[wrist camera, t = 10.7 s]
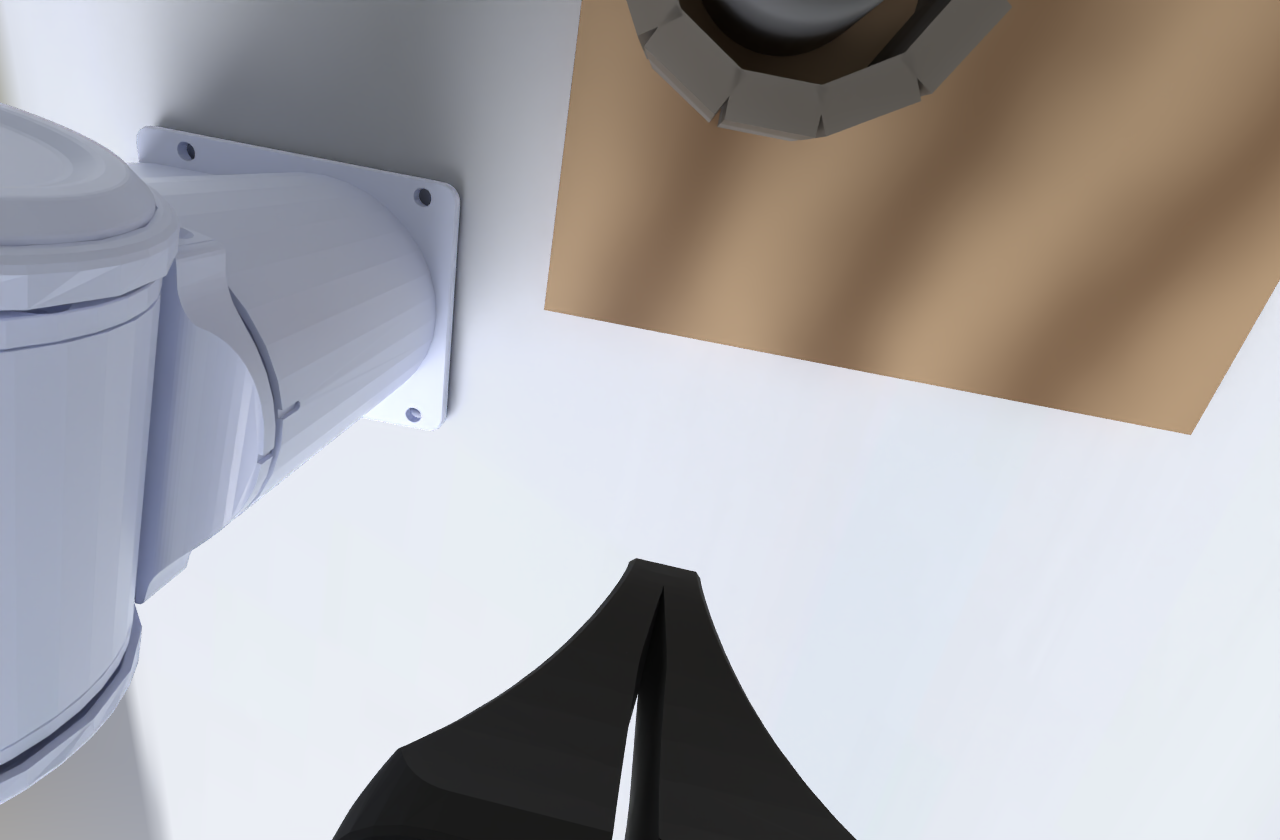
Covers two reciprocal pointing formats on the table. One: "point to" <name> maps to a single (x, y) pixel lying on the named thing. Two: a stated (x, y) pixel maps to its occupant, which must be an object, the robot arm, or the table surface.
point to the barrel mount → (938, 193)
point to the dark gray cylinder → (786, 22)
